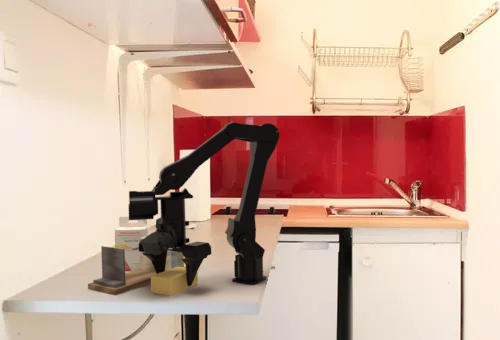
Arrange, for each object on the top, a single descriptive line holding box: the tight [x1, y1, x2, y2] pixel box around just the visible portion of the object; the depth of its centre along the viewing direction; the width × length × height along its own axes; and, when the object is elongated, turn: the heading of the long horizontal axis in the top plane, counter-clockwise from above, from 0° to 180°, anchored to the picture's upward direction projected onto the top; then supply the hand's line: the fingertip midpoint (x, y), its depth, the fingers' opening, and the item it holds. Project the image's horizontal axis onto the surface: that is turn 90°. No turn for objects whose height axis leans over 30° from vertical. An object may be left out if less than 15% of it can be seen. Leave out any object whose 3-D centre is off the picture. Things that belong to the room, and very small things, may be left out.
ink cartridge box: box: [114, 215, 149, 272], centre depth 125 cm, size 9×5×15 cm, turn 92°
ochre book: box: [150, 266, 199, 296], centre depth 105 cm, size 6×10×4 cm, turn 151°
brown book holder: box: [87, 237, 185, 296], centre depth 113 cm, size 10×24×10 cm, turn 146°
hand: (175, 283), depth 105 cm, fingers open, 9 cm apart
